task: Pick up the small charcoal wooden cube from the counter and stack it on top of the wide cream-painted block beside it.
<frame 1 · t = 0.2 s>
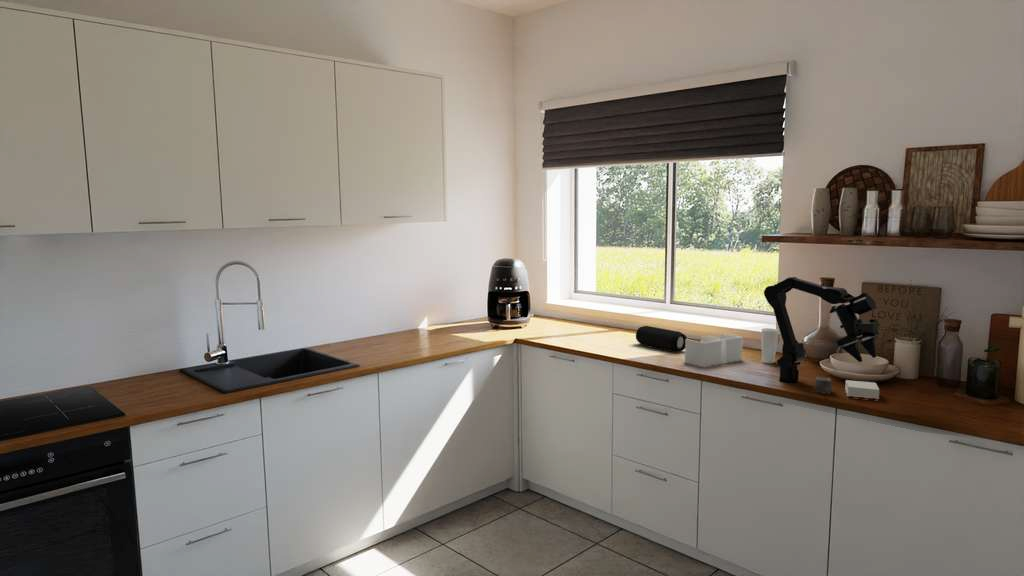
hand: (868, 359, 234), 14 cm above the worktop, tool tilted 30°, fingers open, 9 cm apart
cream base block: (861, 395, 239), on the worktop
charcoal cube: (822, 391, 244), on the worktop
storage container: (713, 362, 292), on the worktop
white tumbler: (768, 362, 290), on the worktop
portable speaker: (660, 348, 320), on the worktop
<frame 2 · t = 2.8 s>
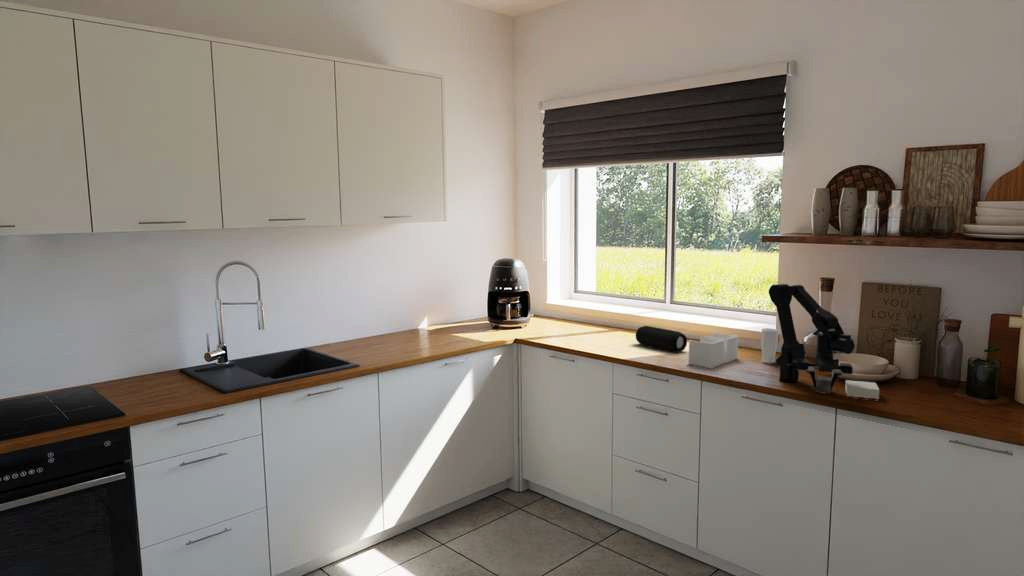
hand: (822, 388, 243), 1 cm above the worktop, tool pointing down, fingers closed on charcoal cube, 5 cm apart
charcoal cube: (822, 391, 244), on the worktop, touching gripper
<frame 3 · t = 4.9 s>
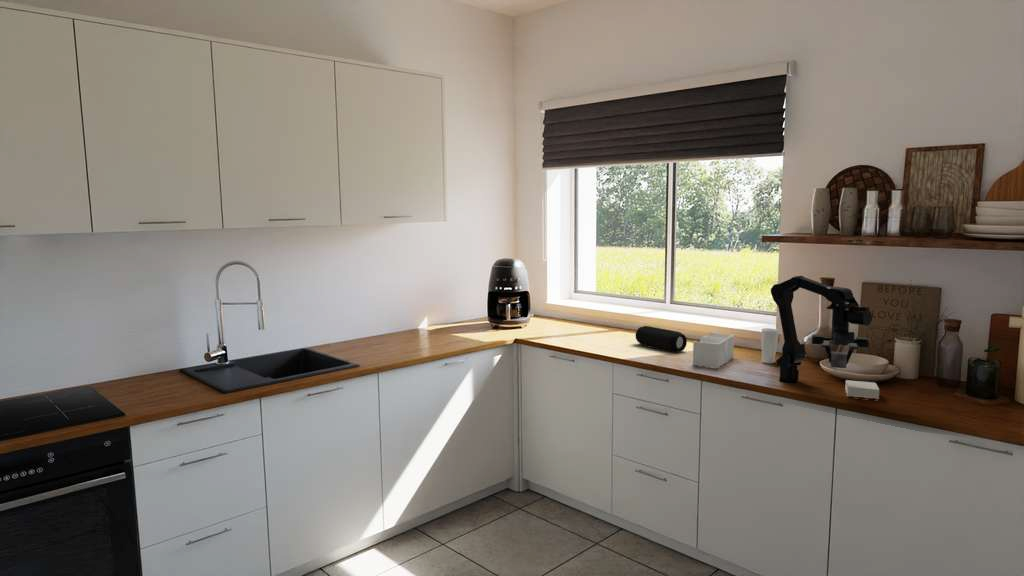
hand: (838, 363, 240), 11 cm above the worktop, tool pointing down, fingers closed on charcoal cube, 5 cm apart
charcoal cube: (838, 366, 240), point 10 cm above the worktop, touching gripper
when the fingers open (6 cm above the worktop, at t = 7.2 s): charcoal cube drops 1 cm, resting on cream base block.
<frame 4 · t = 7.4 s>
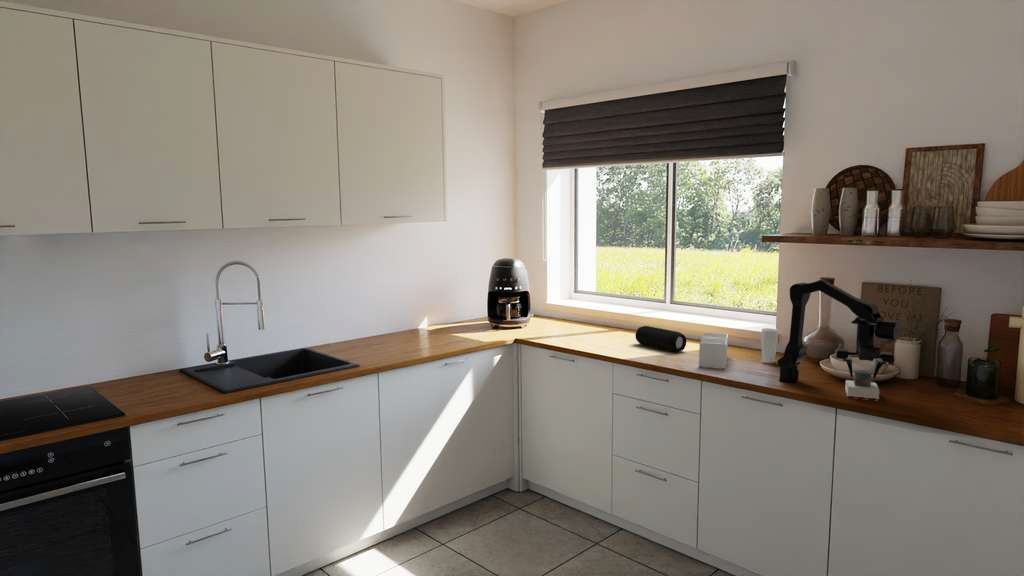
hand: (862, 378, 238), 6 cm above the worktop, tool pointing down, fingers open, 7 cm apart
charcoal cube: (862, 384, 238), point 4 cm above the worktop, touching cream base block
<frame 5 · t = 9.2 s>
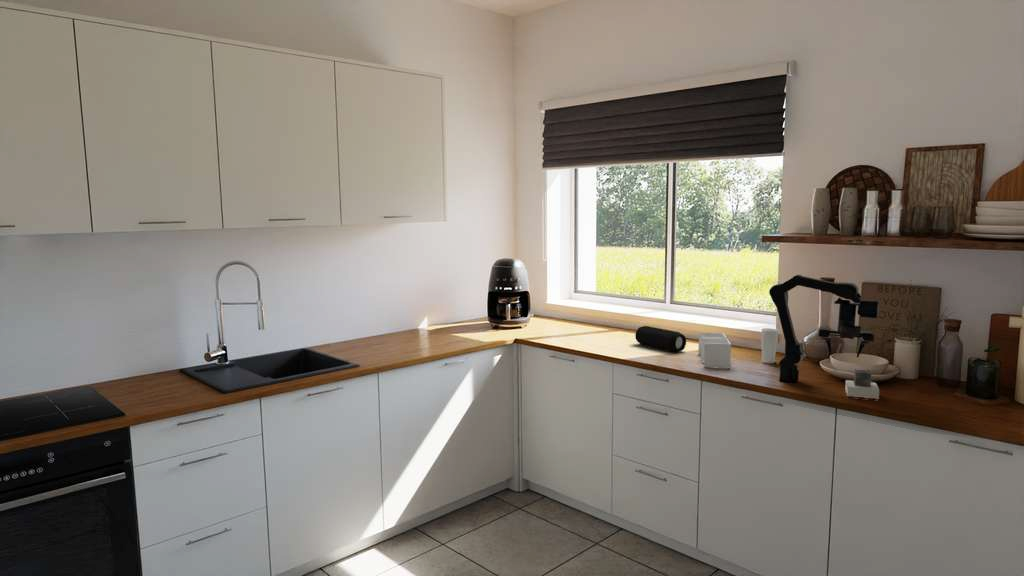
hand: (843, 356, 247), 13 cm above the worktop, tool pointing down, fingers open, 9 cm apart
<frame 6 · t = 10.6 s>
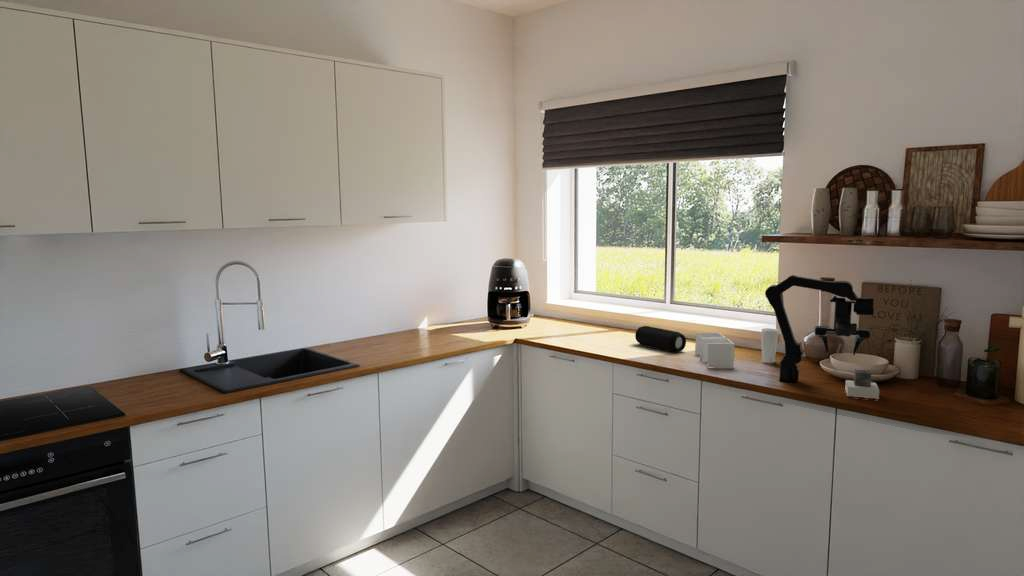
hand: (840, 353, 249), 13 cm above the worktop, tool pointing down, fingers open, 9 cm apart
at the end: charcoal cube 0.1 cm off-centre on the cream base block, point 4.0 cm above the cream base block's base; charcoal cube tilted 0°; the gripper is holding nothing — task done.
